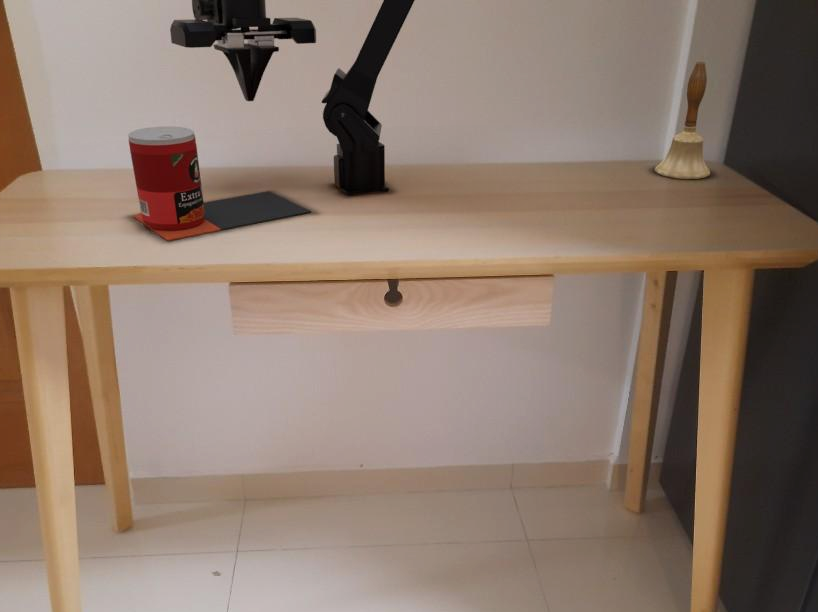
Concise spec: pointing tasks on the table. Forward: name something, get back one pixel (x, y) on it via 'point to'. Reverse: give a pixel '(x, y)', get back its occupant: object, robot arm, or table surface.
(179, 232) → the pad
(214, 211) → the mat
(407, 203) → the table surface
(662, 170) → the hand bell
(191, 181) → the canned food
